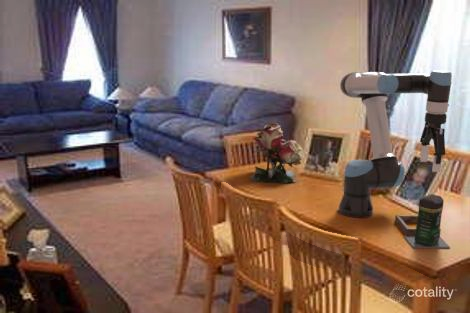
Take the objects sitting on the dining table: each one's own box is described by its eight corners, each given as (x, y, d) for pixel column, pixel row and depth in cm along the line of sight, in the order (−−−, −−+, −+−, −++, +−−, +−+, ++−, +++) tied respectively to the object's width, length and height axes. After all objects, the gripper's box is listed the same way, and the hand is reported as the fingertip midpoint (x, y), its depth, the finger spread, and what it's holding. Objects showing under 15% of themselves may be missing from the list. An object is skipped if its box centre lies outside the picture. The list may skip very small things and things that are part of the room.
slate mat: (412, 248, 190) (412, 246, 190) (404, 237, 200) (404, 235, 200) (449, 248, 190) (449, 246, 190) (439, 237, 200) (439, 236, 200)
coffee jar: (431, 248, 188) (437, 202, 184) (411, 242, 193) (416, 197, 189) (441, 241, 195) (447, 195, 191) (421, 235, 200) (426, 191, 196)
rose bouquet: (305, 183, 268) (307, 128, 260) (250, 183, 267) (251, 127, 260) (298, 170, 292) (300, 119, 285) (248, 169, 292) (249, 118, 284)
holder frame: (406, 236, 201) (407, 229, 200) (394, 221, 216) (395, 215, 215) (439, 236, 201) (440, 229, 200) (425, 221, 216) (426, 215, 215)
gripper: (459, 119, 177) (451, 176, 182) (434, 106, 201) (428, 157, 206) (438, 118, 177) (431, 176, 183) (415, 106, 201) (409, 157, 207)
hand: (429, 166), depth 195 cm, fingers open, 13 cm apart
